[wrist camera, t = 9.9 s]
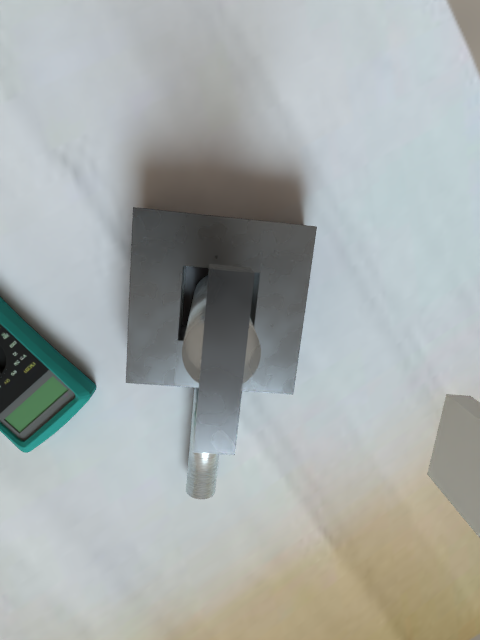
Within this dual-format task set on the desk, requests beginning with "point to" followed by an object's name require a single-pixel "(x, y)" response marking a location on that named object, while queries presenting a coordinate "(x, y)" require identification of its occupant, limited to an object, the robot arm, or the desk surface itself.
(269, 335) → the block
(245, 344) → the t key
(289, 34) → the desk surface
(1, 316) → the digital multimeter
